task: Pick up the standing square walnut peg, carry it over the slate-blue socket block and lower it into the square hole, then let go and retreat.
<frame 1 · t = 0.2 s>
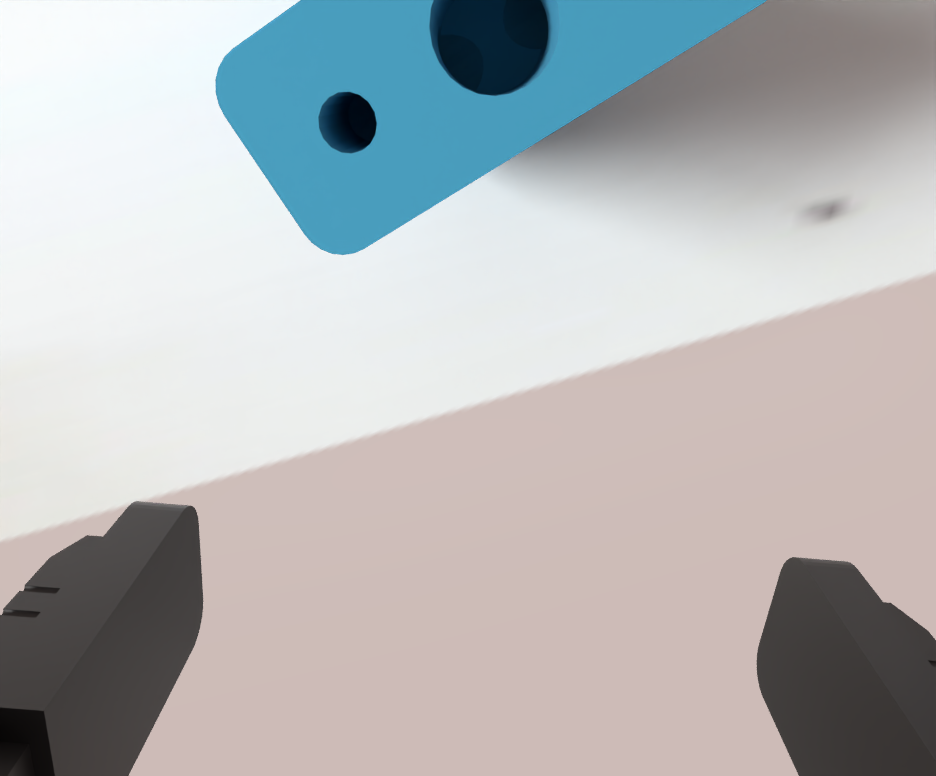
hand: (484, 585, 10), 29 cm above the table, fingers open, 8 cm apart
block: (487, 58, 34), on the table
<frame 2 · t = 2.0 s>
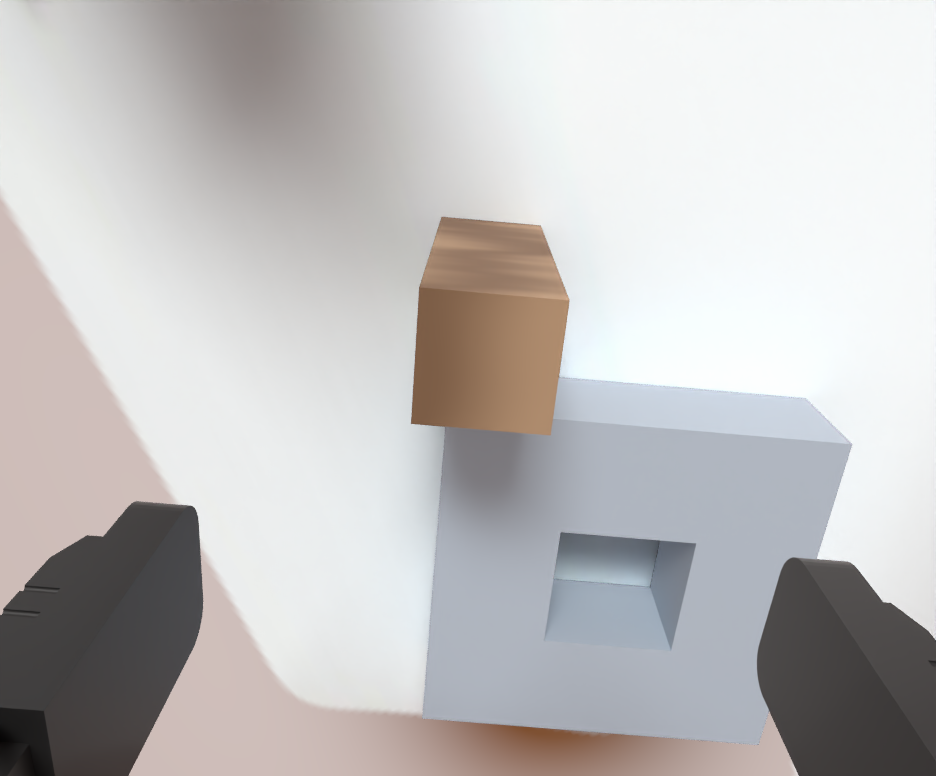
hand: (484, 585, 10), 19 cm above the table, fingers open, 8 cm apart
walnut peg: (486, 270, 28), on the table
socket block: (602, 534, 32), on the table
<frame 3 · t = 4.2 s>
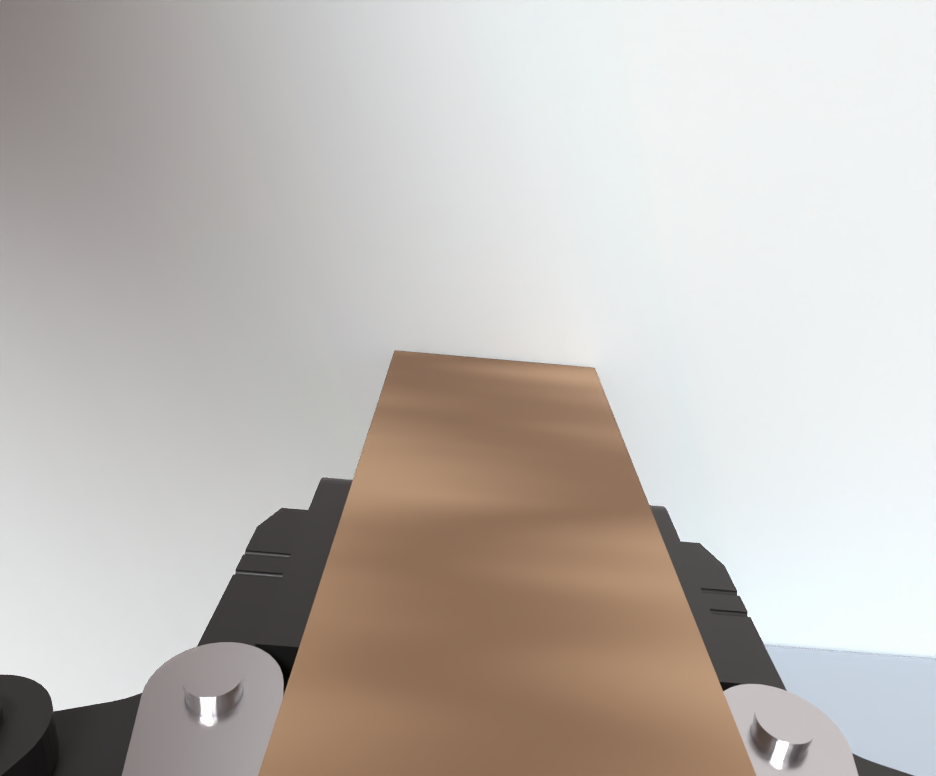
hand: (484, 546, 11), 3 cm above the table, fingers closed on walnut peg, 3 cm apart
walnut peg: (485, 448, 14), on the table, touching gripper
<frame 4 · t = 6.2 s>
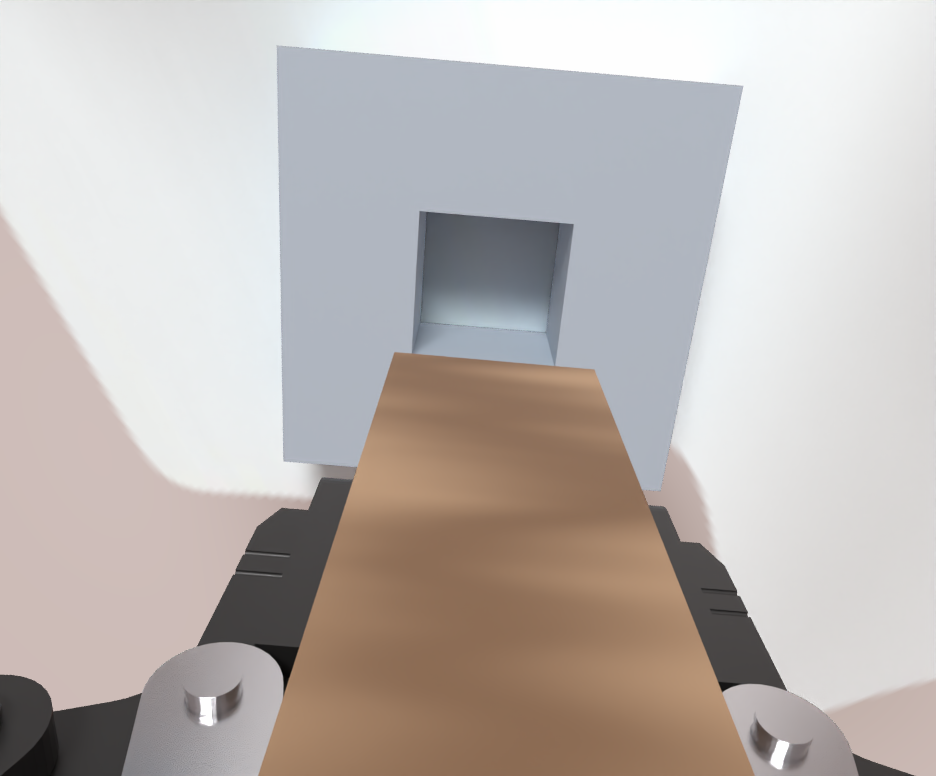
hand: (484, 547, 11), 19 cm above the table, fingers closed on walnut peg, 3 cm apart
walnut peg: (485, 450, 14), point 16 cm above the table, touching gripper
socket block: (488, 265, 29), on the table
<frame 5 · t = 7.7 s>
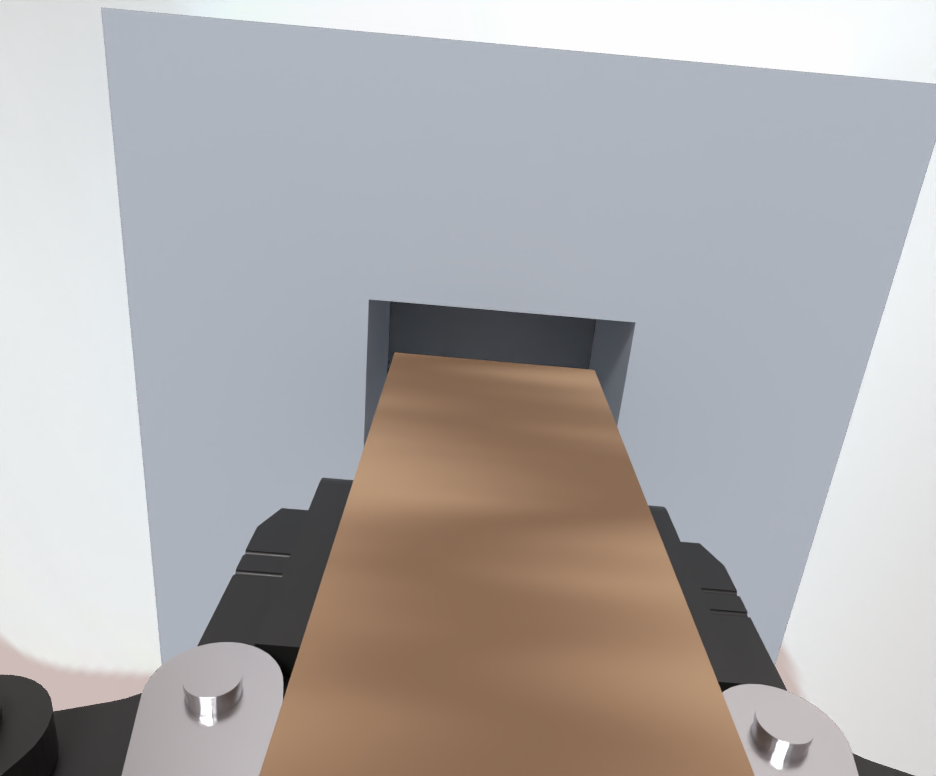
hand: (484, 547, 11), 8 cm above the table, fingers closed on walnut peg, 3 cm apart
walnut peg: (485, 450, 14), point 5 cm above the table, touching gripper
socket block: (488, 361, 19), on the table
when the fingers open (5 cm above the table, at t = 8.7 s): walnut peg drops 1 cm, resting in socket block.
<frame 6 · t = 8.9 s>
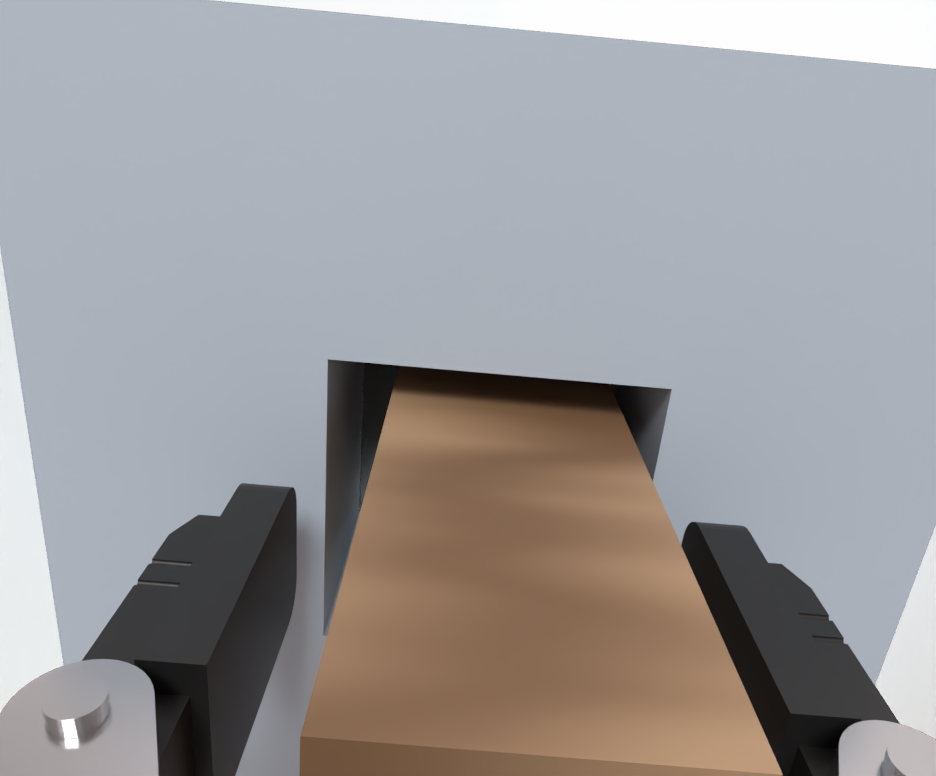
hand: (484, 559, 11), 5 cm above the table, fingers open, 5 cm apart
walnut peg: (490, 416, 15), resting in socket block
socket block: (483, 416, 15), on the table
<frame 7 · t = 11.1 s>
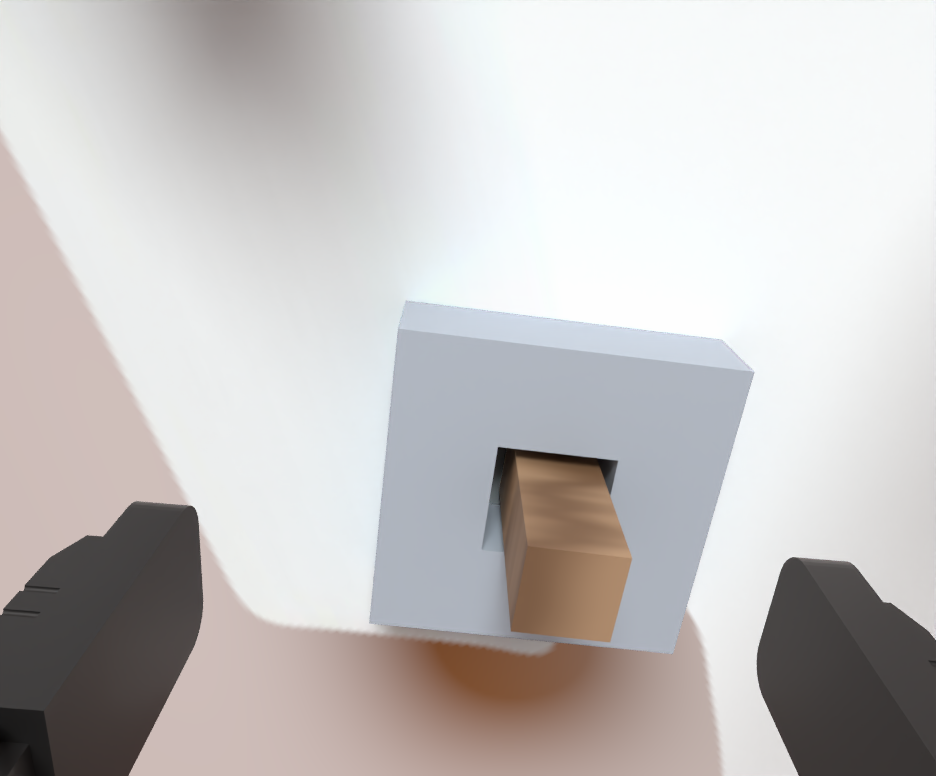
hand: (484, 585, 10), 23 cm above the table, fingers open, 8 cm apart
walnut peg: (542, 462, 35), resting in socket block
socket block: (539, 462, 35), on the table
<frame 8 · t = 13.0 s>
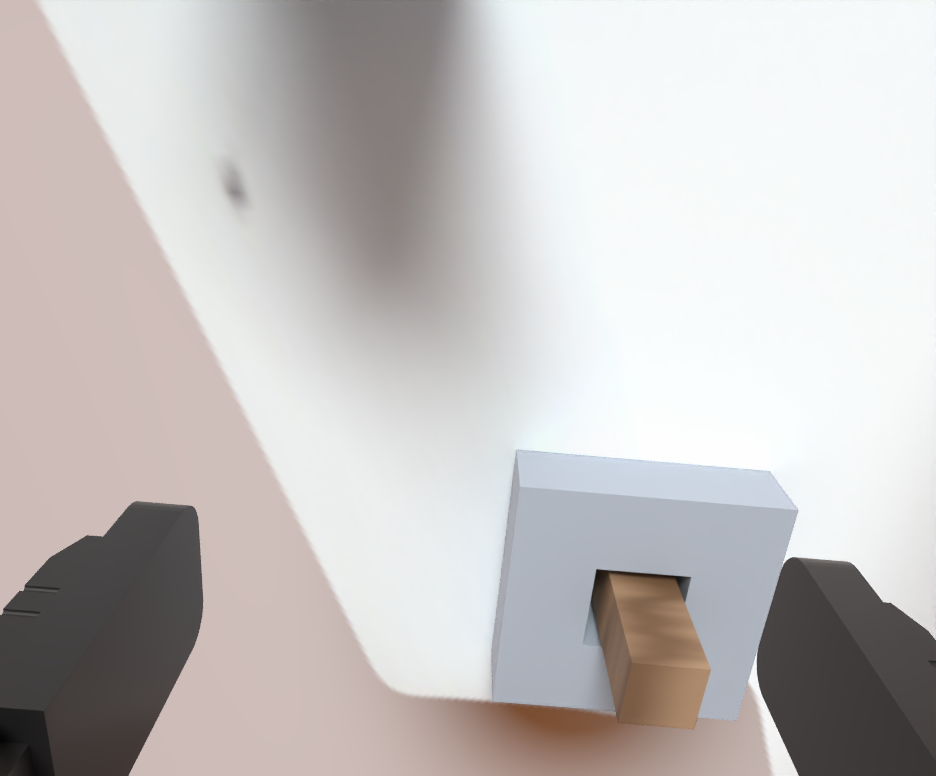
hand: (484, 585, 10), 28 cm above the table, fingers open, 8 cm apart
walnut peg: (625, 566, 44), resting in socket block
socket block: (622, 566, 44), on the table
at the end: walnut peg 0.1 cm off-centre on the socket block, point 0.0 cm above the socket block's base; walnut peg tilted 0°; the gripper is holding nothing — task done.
